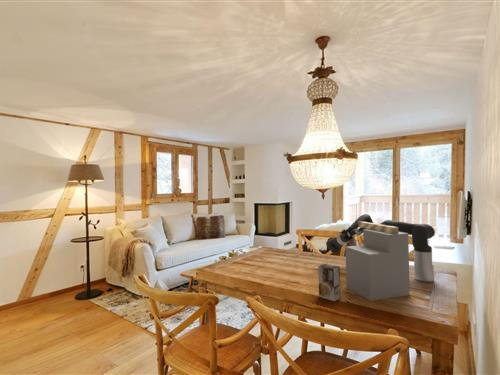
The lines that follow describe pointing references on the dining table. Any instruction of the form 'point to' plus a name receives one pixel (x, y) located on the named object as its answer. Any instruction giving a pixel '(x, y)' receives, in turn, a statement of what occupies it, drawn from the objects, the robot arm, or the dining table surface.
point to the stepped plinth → (379, 265)
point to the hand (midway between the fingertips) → (357, 227)
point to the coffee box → (329, 282)
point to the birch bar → (378, 227)
